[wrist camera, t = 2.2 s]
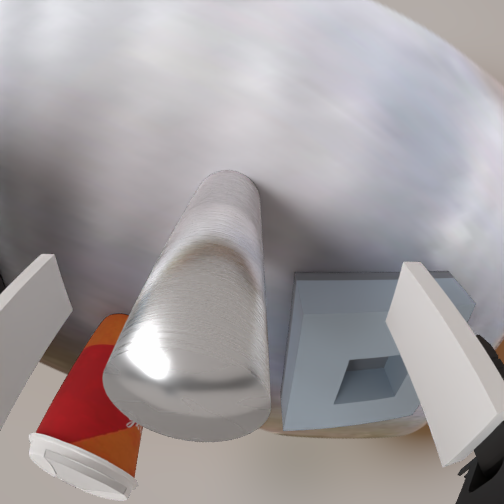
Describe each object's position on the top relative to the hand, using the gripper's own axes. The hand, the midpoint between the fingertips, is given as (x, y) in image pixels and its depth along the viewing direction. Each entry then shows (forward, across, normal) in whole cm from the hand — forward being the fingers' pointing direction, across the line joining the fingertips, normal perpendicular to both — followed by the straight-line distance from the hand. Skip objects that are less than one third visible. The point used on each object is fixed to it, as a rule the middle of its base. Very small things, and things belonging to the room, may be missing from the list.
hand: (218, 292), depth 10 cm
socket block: (+10, +10, -12) cm, 18 cm away
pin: (+9, 0, 0) cm, 9 cm away
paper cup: (+9, -10, -12) cm, 18 cm away
